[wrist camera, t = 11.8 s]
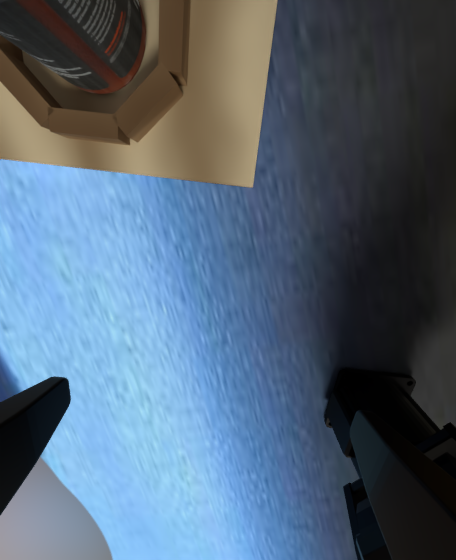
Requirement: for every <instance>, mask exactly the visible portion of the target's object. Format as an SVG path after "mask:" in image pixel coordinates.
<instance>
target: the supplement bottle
mask: <svg viewBox="0 0 456 560" xmlns="http://www.w3.org/2000/svg"><path fill="white" fill-rule="evenodd" d="M0 35H1V36H2V37H4V38H5V39H7V40H8V41H10V42H11V43H13V44H14V45H16V46H17V47H18V48H20V49H21V50H23V51H24V52H26V53H27V54H29V55H30V56H31V57H33V58H34V59H36V60H37V61H39V62H40V63H41V64H43V65H44V66H46V67H47V68H49V69H50V70H52V71H53V72H55V73H56V74H58V75H59V76H60V77H62V78H63V79H65V80H66V81H68V82H69V83H71V84H73V85H75V86H76V87H78V88H80V89H82V90H85V91H87V92H90V93H95V94H108V93H112V92H115V91H118V90H120V89H121V88H123V87H125V86H126V85H127V84H128V83H129V82H131V81H132V80H133V78H134V76H135V75H136V73H137V72H138V70H139V68H140V66H141V63H142V60H143V57H144V53H145V47H146V26H145V20H144V16H143V12H142V7H141V5H140V2H139V0H0Z"/></svg>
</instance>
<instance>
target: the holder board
mask: <svg viewBox="0 0 456 560" xmlns="http://www.w3.org/2000/svg"><path fill="white" fill-rule="evenodd" d="M139 2H140V5H141V7H142V12H143V16H144V20H145V26H146V47H145V53H144V57H143V60H142V63H141V66H140V68H139V70H138V72H137V73H136V75H135V76H134V78H133V80H132V81H131V82H129V83H128V84H127V85H126V86H125V87H123V88H121V89H120V90H118V91H115V92H112V93H108V94H95V93H90V92H87V91H85V90H82V89H80V88H78V87H76V86H75V85H73V84H71V83H69V82H68V81H66V80H65V79H63V78H62V77H60V76H59V75H58V74H56V73H55V72H53V71H52V70H50V69H49V68H47V67H46V66H44V65H43V64H41V63H40V62H39V61H37V60H36V59H34V58H33V57H31V56H30V55H29V54H27V53H26V52H24V51H23V50H21V49H20V48H18V47H17V46H16V45H14V44H13V43H11V42H10V41H8V40H7V39H5V38H4V37H2V36H1V35H0V159H5V160H14V161H23V162H31V163H40V164H49V165H58V166H66V167H75V168H84V169H93V170H101V171H110V172H119V173H128V174H136V175H145V176H154V177H162V178H171V179H180V180H189V181H197V182H206V183H215V184H224V185H232V186H241V187H250V188H252V187H253V182H254V174H255V167H256V159H257V151H258V144H259V136H260V129H261V121H262V114H263V106H264V98H265V91H266V83H267V76H268V68H269V61H270V53H271V45H272V38H273V30H274V23H275V15H276V8H277V0H139Z"/></svg>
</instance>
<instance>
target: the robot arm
mask: <svg viewBox="0 0 456 560" xmlns="http://www.w3.org/2000/svg"><path fill="white" fill-rule="evenodd" d="M345 374H347V375H345ZM415 384H416V381H415V380H414V379H413V378H412V377H411V376H409V375H400V374H392V373H383V372H374V371H365V370H356V369H347V368H345V369H342V370H341V371H340V372H339V375H338V378H337V381H336V384H335V388H334V390H333V391H332V393H331V397H330V400H329V403H328V406H327V409H326V416H325V419H324V421H325V424H326V426H327V427H329V428H333V430H334V433H335V435H336V437H337V440H338V442H339V444H340V447H341V449H342V452H343V454H344V455H345V456H346V457H349V458H351V460H352V462H353V465H354V467H355V469H356V471H357V474H358V476H359V478H360V479H358V480H356V481H355V482H353V483H348V484H347V485H345V486H343V488H344V493H345V498H346V504H347V509H348V514H349V519H350V525H351V530H352V535H353V540H354V545H355V551H356V555H357V559H358V560H456V427H455V426H454V425H453V424H452V423H451V422H450V423H448V424H446V425H445V426H443V427H444V428H443V429H442V430H440V429H439V428H438V427H437V426H436V424H435V423H434V422H433V421H432V420H431V419H430V418H429V417H428V415H427V414H426V413H425V412H424V411H423V410H422V409H421V408H420V406H419V405H418V404H417V403H416V402H415V401H414V400H413V399H412V397H411V396H410V395H411V393H412V391H413V389H414V386H415ZM70 400H71V396H70V389H69V381H68V379H67V378H64V377H50V378H48V379H46V380H44V381H42V382H40V383H38V384H36V385H34V386H32V387H30V388H28V389H26V390H24V391H22V392H20V393H18V394H16V395H14V396H12V397H10V398H8V399H6V400H4V401H2V402H0V515H1V514H2V512H3V511H4V509H5V508H6V506H7V505H8V503H9V502H10V501H11V499H12V498H13V496H14V495H15V493H16V492H17V490H18V489H19V487H20V486H21V484H22V483H23V482H24V480H25V479H26V477H27V476H28V474H29V473H30V471H31V470H32V468H33V467H34V465H35V464H36V462H37V461H38V459H39V457H40V456H41V454H42V452H43V451H44V449H45V447H46V445H47V444H48V442H49V440H50V438H51V437H52V435H53V433H54V431H55V430H56V428H57V426H58V424H59V423H60V421H61V419H62V417H63V416H64V414H65V412H66V410H67V409H68V407H69V404H70Z"/></svg>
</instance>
